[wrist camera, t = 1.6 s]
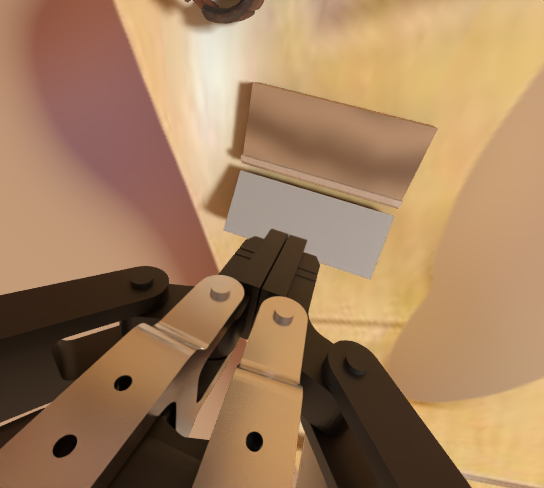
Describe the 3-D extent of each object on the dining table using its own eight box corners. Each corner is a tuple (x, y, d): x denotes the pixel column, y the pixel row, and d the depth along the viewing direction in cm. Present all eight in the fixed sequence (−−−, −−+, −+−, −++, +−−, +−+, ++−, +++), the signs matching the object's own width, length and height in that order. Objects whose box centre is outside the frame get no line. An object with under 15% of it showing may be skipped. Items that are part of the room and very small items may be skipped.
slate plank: (245, 172, 32) (240, 169, 30) (389, 216, 30) (394, 216, 28) (229, 229, 33) (223, 230, 31) (367, 275, 31) (370, 279, 29)
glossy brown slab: (259, 82, 27) (250, 82, 25) (432, 125, 25) (439, 129, 23) (248, 158, 31) (239, 163, 29) (395, 201, 29) (398, 210, 27)
